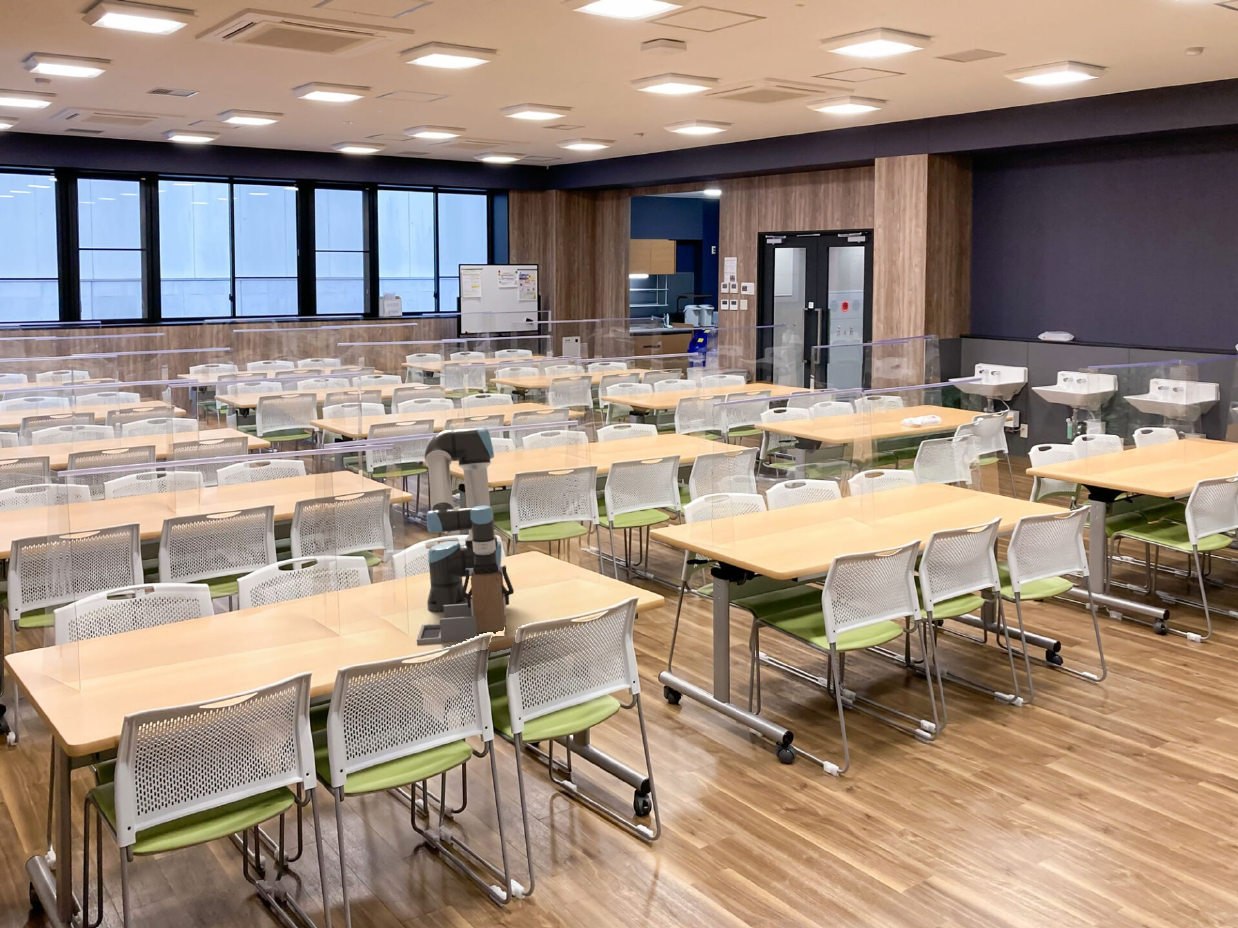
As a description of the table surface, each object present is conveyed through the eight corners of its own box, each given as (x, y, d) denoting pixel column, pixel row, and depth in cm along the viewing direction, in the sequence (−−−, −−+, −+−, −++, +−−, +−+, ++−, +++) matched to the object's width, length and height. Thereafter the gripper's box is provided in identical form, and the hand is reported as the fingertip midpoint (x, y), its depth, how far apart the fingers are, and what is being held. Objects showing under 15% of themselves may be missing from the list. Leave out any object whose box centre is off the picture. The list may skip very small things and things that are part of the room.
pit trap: (422, 628, 404) (421, 624, 404) (445, 627, 405) (445, 623, 404) (417, 644, 389) (416, 639, 388) (441, 642, 389) (441, 638, 389)
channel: (445, 627, 405) (443, 605, 403) (480, 624, 405) (478, 602, 404) (441, 642, 389) (439, 619, 388) (477, 639, 390) (475, 616, 388)
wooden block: (504, 631, 394) (500, 574, 390) (474, 633, 394) (470, 576, 390) (506, 622, 404) (502, 566, 400) (477, 624, 403) (472, 568, 400)
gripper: (449, 557, 388) (454, 620, 392) (518, 552, 390) (522, 616, 394) (451, 551, 396) (456, 614, 400) (518, 546, 397) (523, 609, 401)
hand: (489, 615), depth 397 cm, fingers closed on wooden block, 10 cm apart
